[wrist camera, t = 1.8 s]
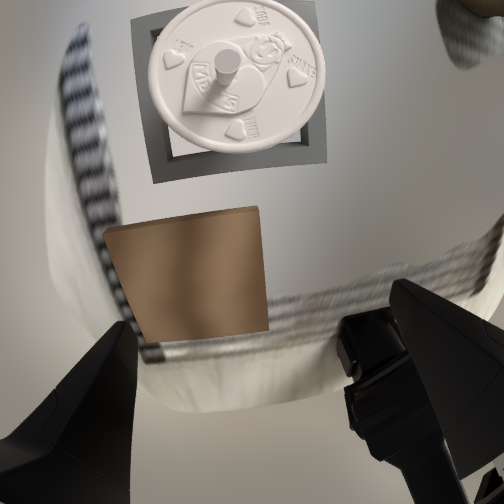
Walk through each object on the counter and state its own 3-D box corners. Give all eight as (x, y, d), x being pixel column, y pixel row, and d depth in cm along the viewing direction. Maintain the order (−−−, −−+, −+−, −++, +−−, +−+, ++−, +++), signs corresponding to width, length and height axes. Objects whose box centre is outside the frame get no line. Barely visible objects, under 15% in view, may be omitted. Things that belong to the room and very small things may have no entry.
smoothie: (162, 81, 16) (47, 56, 4) (239, 25, 14) (276, -96, 2) (222, 148, 19) (225, 247, 7) (296, 94, 17) (432, 99, 5)
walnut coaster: (257, 205, 21) (258, 210, 20) (267, 323, 27) (269, 330, 26) (106, 228, 21) (102, 234, 20) (148, 335, 27) (147, 342, 26)
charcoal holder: (305, 9, 14) (314, 1, 12) (317, 156, 20) (326, 162, 18) (138, 26, 13) (130, 19, 12) (159, 176, 19) (153, 184, 18)
